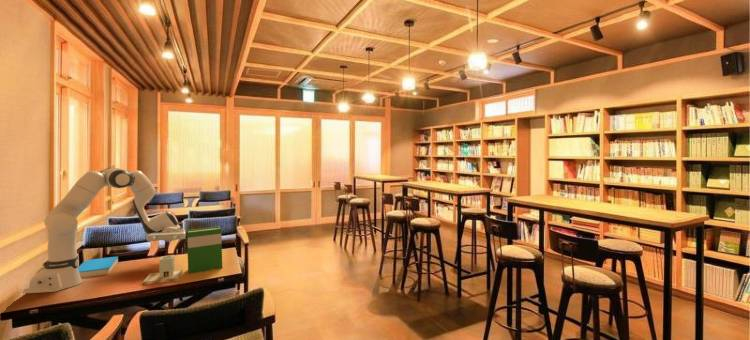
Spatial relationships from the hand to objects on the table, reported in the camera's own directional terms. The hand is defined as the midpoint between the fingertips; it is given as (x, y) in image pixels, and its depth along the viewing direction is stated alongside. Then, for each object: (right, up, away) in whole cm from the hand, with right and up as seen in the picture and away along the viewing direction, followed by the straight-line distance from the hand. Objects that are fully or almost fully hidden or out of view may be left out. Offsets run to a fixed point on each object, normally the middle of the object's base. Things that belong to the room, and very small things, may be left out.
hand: (163, 238), depth 200 cm
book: (-41, -19, +2) cm, 46 cm away
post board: (+8, -19, -13) cm, 24 cm away
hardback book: (+24, -18, +2) cm, 30 cm away
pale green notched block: (+10, -18, -12) cm, 24 cm away
